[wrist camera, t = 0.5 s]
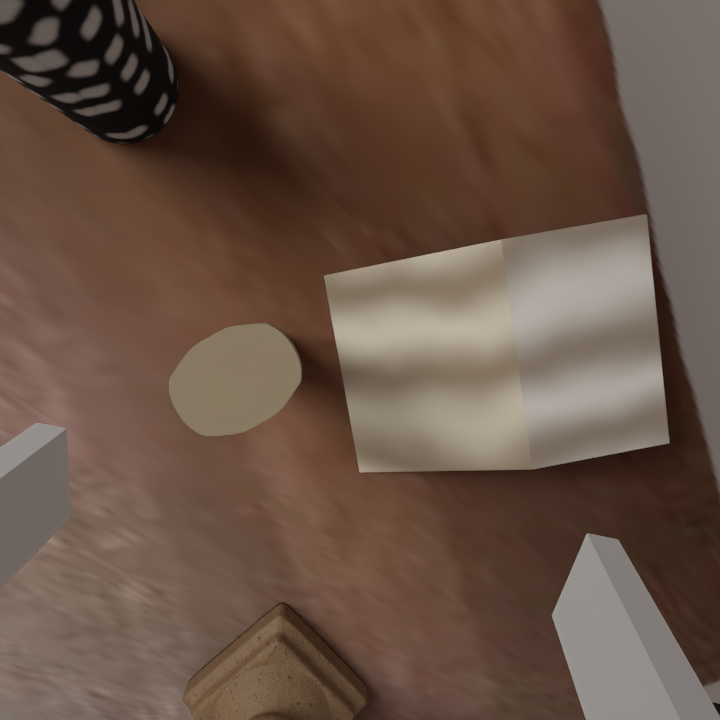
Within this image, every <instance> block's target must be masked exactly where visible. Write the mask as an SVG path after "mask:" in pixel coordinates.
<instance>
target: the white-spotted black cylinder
mask: <svg viewBox="0 0 720 720" xmlns="http://www.w3.org/2000/svg"><path fill="white" fill-rule="evenodd" d="M0 70H1V71H3V72H4V73H6V74H7V75H8V76H10V77H11V78H13V79H14V80H16V81H17V82H18V83H20V84H21V85H23V86H24V87H26V88H27V89H28V90H30V91H31V92H33V93H34V94H36V95H37V96H38V97H40V98H41V99H43V100H44V101H46V102H47V103H48V104H50V105H51V106H53V107H54V108H55V109H57V110H58V111H60V112H61V113H63V114H64V115H65V116H67V117H68V118H70V119H71V120H73V121H74V122H75V123H77V124H78V125H80V126H81V127H83V128H84V129H85V130H87V131H88V132H90V133H91V134H93V135H95V136H97V137H99V138H101V139H103V140H106V141H110V142H113V143H125V144H126V143H134V142H138V141H141V140H144V139H147V138H149V137H151V136H152V135H154V134H155V133H157V132H158V131H159V130H160V129H161V128H162V127H163V126H164V125H165V124H166V123H167V121H168V120H169V119H170V117H171V116H172V113H173V111H174V109H175V106H176V102H177V97H178V78H177V72H176V69H175V66H174V63H173V61H172V58H171V57H170V55H169V53H168V52H167V50H166V48H165V47H164V45H163V44H162V42H161V41H160V39H159V38H158V36H157V35H156V33H155V32H154V30H153V29H152V27H151V25H150V24H149V22H148V21H147V19H146V18H145V16H144V15H143V13H142V12H141V10H140V9H139V7H138V6H137V4H136V2H135V1H134V0H0Z"/></svg>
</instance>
